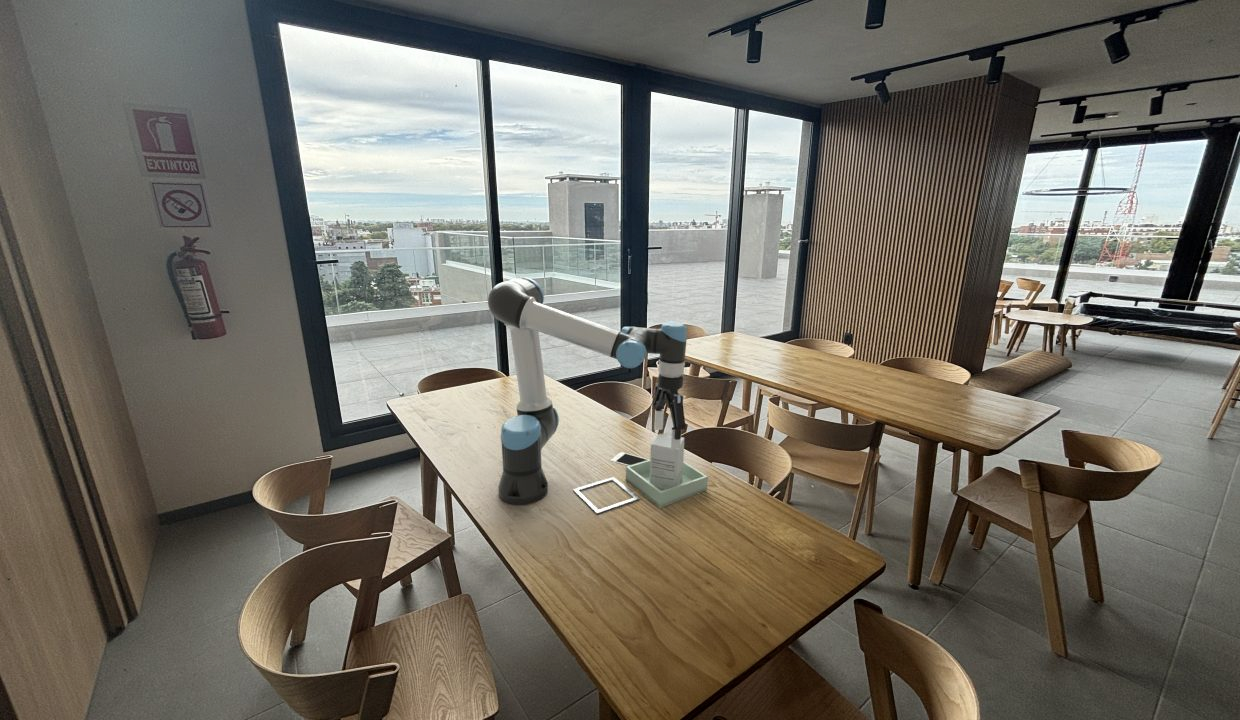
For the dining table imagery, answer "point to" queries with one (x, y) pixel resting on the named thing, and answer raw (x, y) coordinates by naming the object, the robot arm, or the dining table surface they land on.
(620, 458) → the cell phone
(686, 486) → the bin
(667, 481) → the supplement box
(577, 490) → the white square frame
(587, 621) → the dining table surface
